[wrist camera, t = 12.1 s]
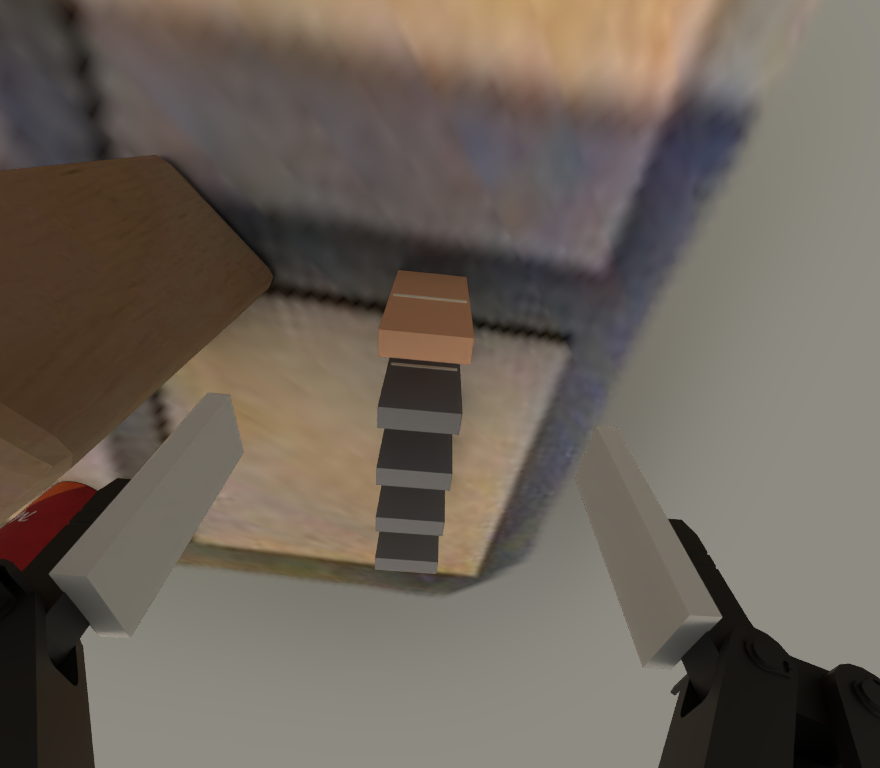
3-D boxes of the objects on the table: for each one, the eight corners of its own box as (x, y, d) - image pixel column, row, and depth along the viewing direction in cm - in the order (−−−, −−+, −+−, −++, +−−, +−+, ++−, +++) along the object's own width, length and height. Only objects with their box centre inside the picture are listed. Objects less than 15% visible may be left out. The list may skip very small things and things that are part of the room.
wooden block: (163, 146, 25) (-433, 190, 8) (283, 275, 29) (61, 478, 12) (80, 241, 28) (-466, 413, 11) (199, 344, 32) (-66, 578, 16)
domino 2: (393, 383, 34) (376, 467, 26) (451, 388, 34) (452, 473, 26) (393, 399, 35) (376, 485, 27) (449, 404, 35) (449, 491, 27)
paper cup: (36, 465, 40) (-132, 604, 29) (117, 486, 42) (-11, 626, 30) (46, 512, 44) (-97, 650, 33) (120, 529, 46) (8, 667, 34)
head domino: (463, 298, 30) (469, 365, 21) (397, 291, 30) (378, 356, 21) (466, 276, 29) (474, 337, 21) (398, 269, 29) (378, 328, 20)
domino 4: (390, 466, 40) (375, 557, 31) (440, 470, 40) (437, 562, 32) (389, 478, 41) (375, 569, 32) (438, 482, 41) (435, 574, 32)
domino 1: (395, 331, 31) (377, 406, 23) (458, 337, 32) (462, 413, 23) (395, 350, 32) (377, 428, 24) (455, 355, 33) (458, 435, 24)
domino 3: (392, 428, 37) (375, 516, 29) (445, 432, 37) (444, 521, 29) (391, 441, 38) (375, 531, 29) (443, 446, 38) (442, 536, 30)
